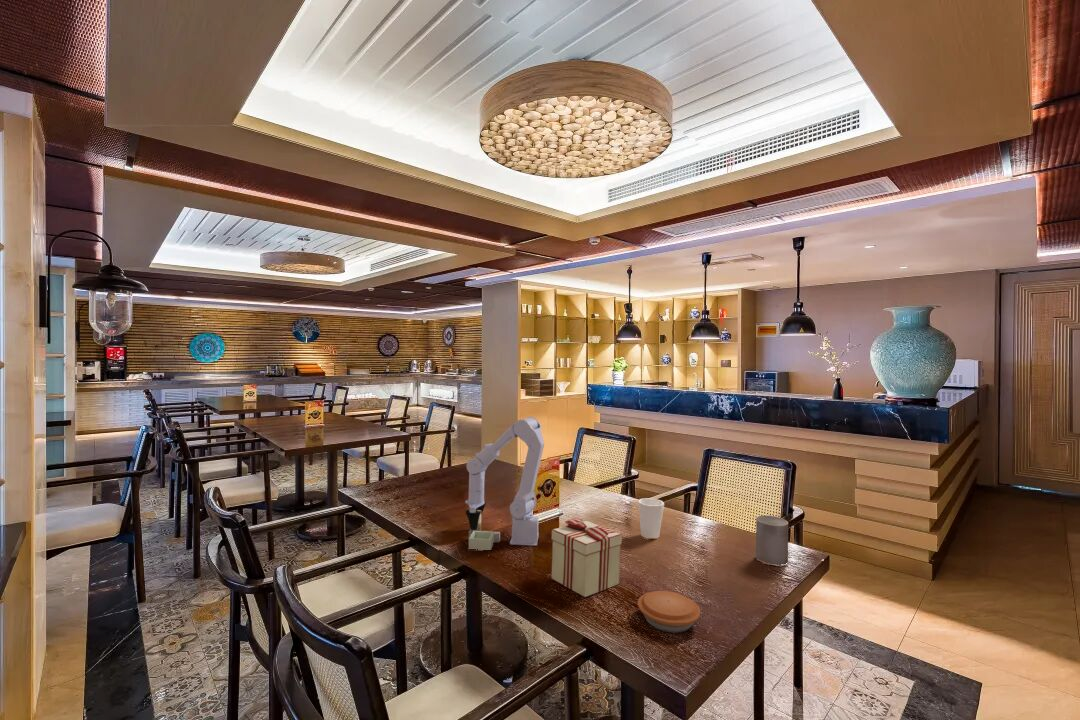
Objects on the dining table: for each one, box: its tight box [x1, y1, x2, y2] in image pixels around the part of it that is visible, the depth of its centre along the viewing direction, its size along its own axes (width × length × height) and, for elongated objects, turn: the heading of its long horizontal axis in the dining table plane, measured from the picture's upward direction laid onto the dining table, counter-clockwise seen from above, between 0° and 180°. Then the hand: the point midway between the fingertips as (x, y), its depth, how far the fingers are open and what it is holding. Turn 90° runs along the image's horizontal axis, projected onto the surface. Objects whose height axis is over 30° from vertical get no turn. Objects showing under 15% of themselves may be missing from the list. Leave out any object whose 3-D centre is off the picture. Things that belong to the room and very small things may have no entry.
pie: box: [636, 590, 701, 633], centre depth 122 cm, size 15×16×5 cm
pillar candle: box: [755, 515, 789, 565], centre depth 160 cm, size 10×10×15 cm
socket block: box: [468, 530, 495, 551], centre depth 167 cm, size 8×8×4 cm
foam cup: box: [637, 497, 665, 538], centre depth 179 cm, size 10×9×13 cm
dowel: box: [469, 510, 482, 531], centre depth 179 cm, size 4×4×8 cm
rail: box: [468, 529, 501, 543], centre depth 171 cm, size 11×2×3 cm, turn 87°
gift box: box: [551, 517, 623, 598], centre depth 143 cm, size 17×18×17 cm
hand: (475, 525), depth 179 cm, fingers open, 7 cm apart
